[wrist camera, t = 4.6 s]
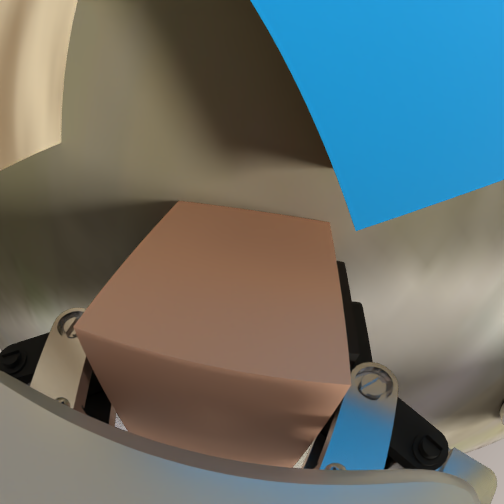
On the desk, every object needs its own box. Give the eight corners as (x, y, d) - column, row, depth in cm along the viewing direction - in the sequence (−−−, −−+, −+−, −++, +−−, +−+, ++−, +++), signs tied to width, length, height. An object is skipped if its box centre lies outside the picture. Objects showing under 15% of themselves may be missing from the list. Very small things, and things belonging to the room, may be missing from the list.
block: (329, 222, 9) (351, 384, 4) (301, 330, 12) (291, 468, 7) (178, 200, 10) (73, 326, 5) (183, 310, 12) (129, 433, 7)
